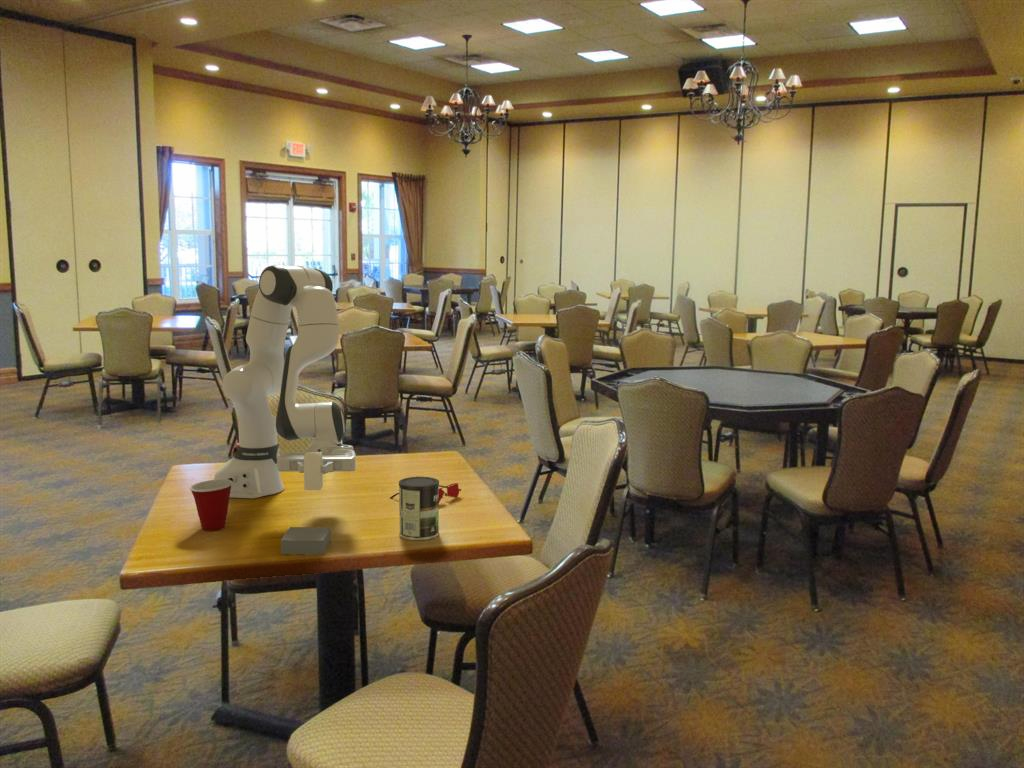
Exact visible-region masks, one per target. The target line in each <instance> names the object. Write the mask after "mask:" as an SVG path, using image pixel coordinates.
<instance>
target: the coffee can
mask: <svg viewBox="0 0 1024 768" xmlns="http://www.w3.org/2000/svg"><path fill="white" fill-rule="evenodd" d="M439 485H440V481H439V480H438V479H437V478H435V477H430V476H409V477H405V478H402V479H400V480H399V481H398V486H399V489H398V490H399V492H398V493H399V494H398V496H399V498H398V499H399V508H398V509H399V511H398V512H399V536H401V537H400V538H402V539H404V538H405V540H408V541H426V540H432V539H434V538H437V537H438V536H439V535H440V534H439V533H440V532H439V528H440V527H439V519H440V518H439V510H440V509H439V504H440V502H439V496H438V495H439V489H440V486H439Z"/></svg>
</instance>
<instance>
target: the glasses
mask: <svg viewBox="0 0 1024 768" xmlns="http://www.w3.org/2000/svg"><path fill="white" fill-rule="evenodd" d="M444 488H446V492H445V491H444V490H443V489H444ZM460 492H462V488H459V483H458V482H456V483H451V484H448V485H446V486H444V485H442V484H441V485H440V484H439V495H438V496H439V503H440V502H441V500H442V499H444V497H443V496H445V497H453V498H456V497H457V498H458V496H459V494H460ZM397 495H398V496H399V492H397V493H395V494H393V495H391V496H390V497H389V499H393V498H395V497H396V496H397Z"/></svg>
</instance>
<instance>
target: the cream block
mask: <svg viewBox="0 0 1024 768" xmlns="http://www.w3.org/2000/svg"><path fill="white" fill-rule="evenodd" d="M304 453H305V452H304ZM321 465H322V452H306V453H305V455H304V473H303V476H304V477H303V479H304V480H303V482H304V483H303V487H304V491H321V490H322V489H323V485H324V480H323V479H324V477H323V475H324V474H323V473H321Z"/></svg>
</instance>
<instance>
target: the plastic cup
mask: <svg viewBox="0 0 1024 768" xmlns="http://www.w3.org/2000/svg"><path fill="white" fill-rule="evenodd" d="M232 484H233V481H231V480H226V479H218V480H214V479H211V480H204V481H201V482H197V483H194V484H192V485H190V486H189V490H190V492H191V494H192V497H193V499H194V502H195V503H194V504H195V506H196V511H197V517H198V519H199V523H200V527H201V529H202V530H203V531H207V532H213V531H214V532H216V531H219V530H222V529H225V528H226V524H227V517H228V512H229V503H230V498H231V497H230V490H231V485H232Z"/></svg>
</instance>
